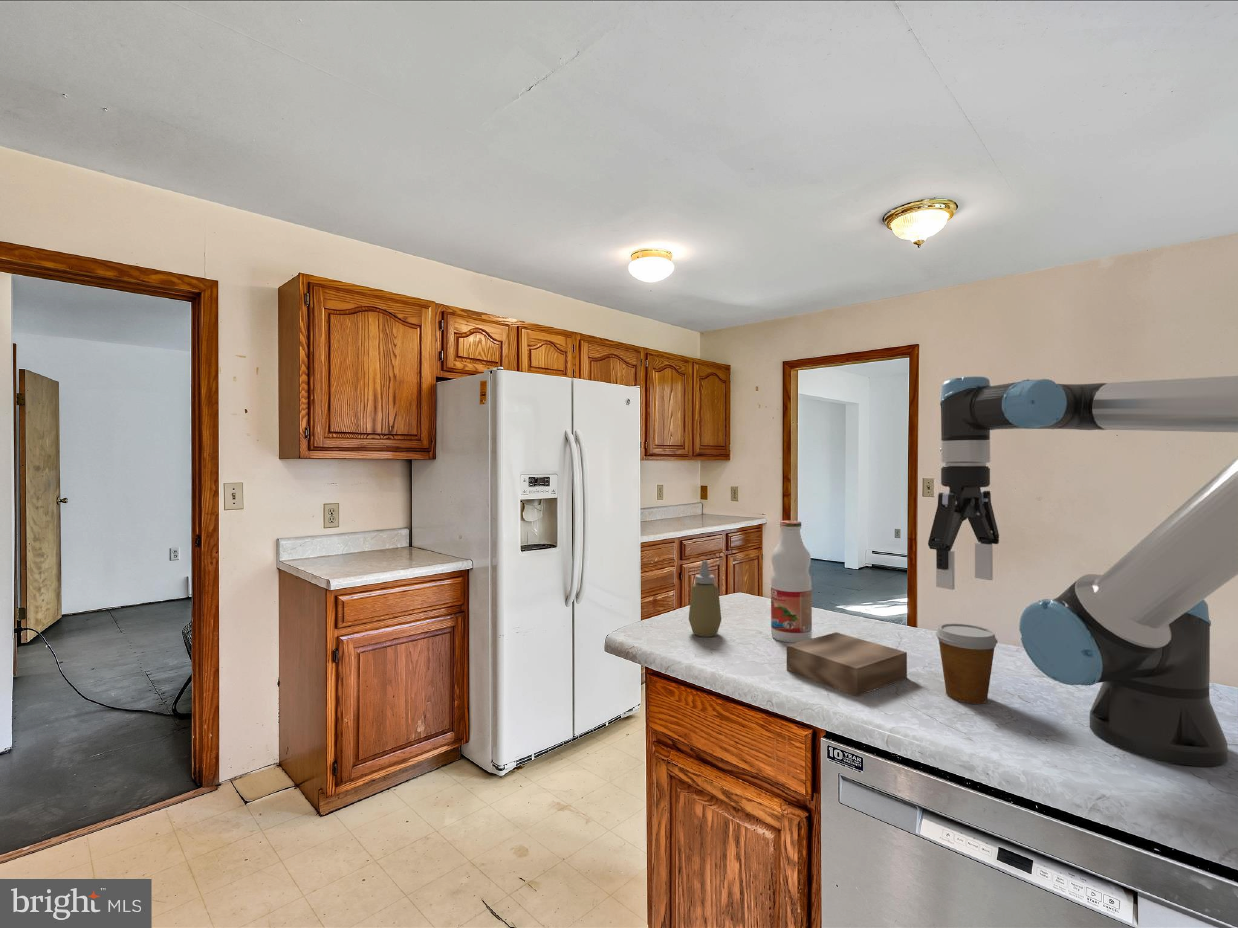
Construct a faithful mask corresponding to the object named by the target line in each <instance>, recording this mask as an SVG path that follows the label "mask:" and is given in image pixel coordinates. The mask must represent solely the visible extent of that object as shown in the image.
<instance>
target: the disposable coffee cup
mask: <svg viewBox="0 0 1238 928" xmlns="http://www.w3.org/2000/svg"><path fill="white" fill-rule="evenodd" d="M935 636H936V638H937V640H938V645H939V652H940V658H941V666H942V672H943V680H944V687H945V694H946V696H947V697H949V698H951V699H953V700H955V701H958V702H960V703H961V702H962V703H965V704H972V705H973V704H975V705H976V704H977V705H978V704H979V705H980V704H985V703H987V701H988V695H989V690H990V683H991V677H992V676H991V675H992V669H993V662H994V661H993V660H994V655H995V654H994V653H995V647H996V646H997V645H998V642H999V641H998V639H997V638H996V634H995V632H994V631H993V630H991V629H989V628H985V627H983V626H978V625H974V624H969V623H968V624H966V623H957V622H956V623H954V622H952V623H951V622H949V623H943V624H940V625H938V627H937V631H936V632H935Z"/></svg>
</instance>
